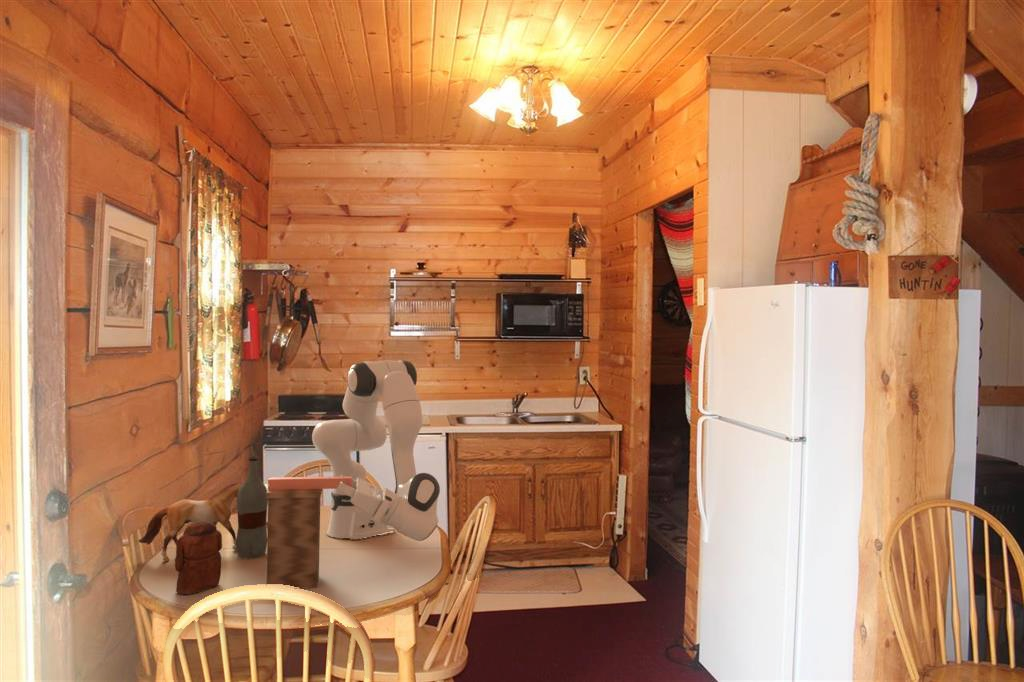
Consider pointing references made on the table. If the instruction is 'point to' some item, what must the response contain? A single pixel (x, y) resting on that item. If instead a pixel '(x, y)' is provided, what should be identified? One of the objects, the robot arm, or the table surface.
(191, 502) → the horse figurine
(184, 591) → the wooden figurine
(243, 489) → the bottle
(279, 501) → the stand
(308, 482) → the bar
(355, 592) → the table surface
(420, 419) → the robot arm
